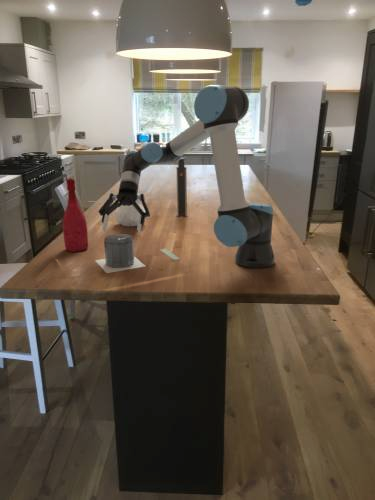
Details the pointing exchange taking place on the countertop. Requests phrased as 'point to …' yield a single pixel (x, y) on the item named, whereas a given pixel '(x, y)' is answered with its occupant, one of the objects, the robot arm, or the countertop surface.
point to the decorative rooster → (128, 214)
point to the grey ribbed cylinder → (119, 250)
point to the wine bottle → (74, 222)
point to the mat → (169, 254)
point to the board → (110, 269)
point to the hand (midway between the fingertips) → (121, 230)
